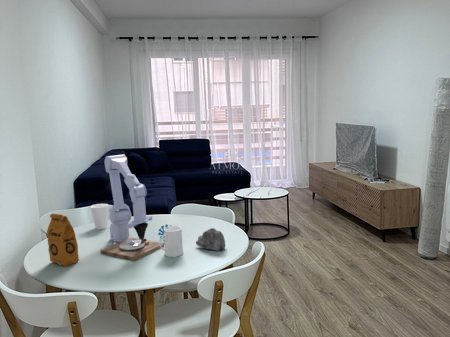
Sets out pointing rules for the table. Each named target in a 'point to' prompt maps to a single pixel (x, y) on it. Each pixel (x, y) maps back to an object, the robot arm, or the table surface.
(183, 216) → the table surface
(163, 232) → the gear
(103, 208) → the foam cup
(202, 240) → the mineral rock
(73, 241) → the coffee package
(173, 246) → the mug
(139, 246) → the flange
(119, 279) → the table surface
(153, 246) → the base board
